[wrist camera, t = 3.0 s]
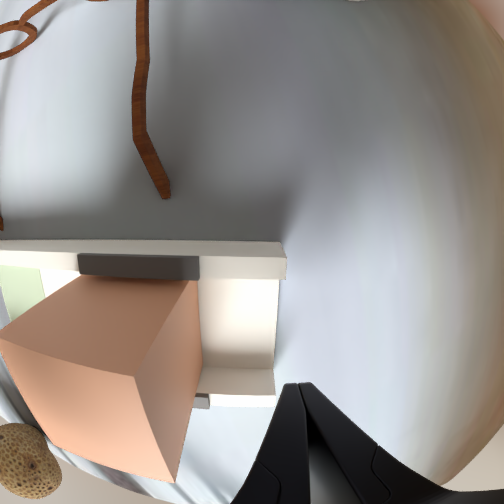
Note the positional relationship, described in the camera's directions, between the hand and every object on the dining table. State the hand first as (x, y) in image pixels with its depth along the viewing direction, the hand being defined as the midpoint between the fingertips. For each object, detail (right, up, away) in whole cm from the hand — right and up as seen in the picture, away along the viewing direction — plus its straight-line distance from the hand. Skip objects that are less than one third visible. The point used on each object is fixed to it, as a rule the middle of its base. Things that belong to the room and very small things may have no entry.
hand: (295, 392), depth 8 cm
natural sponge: (-25, -16, +10) cm, 31 cm away
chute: (-9, +2, +5) cm, 11 cm away
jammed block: (-6, +1, +4) cm, 8 cm away
